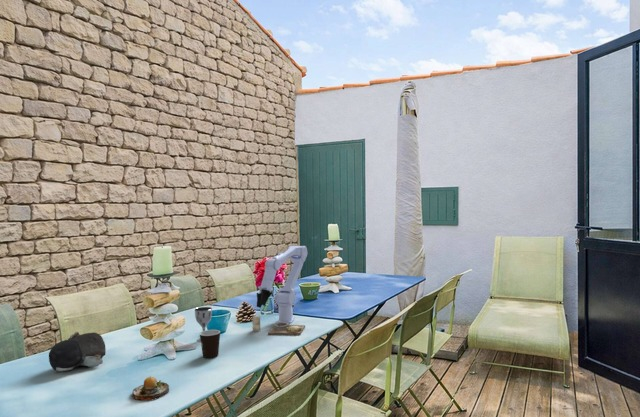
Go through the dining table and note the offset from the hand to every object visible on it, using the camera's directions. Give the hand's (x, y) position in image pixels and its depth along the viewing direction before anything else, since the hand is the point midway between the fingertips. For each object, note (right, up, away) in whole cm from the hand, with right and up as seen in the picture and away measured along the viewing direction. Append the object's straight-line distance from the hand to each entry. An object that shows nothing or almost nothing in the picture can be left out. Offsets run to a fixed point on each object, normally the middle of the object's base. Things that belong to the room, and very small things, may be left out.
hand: (260, 306), depth 221 cm
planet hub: (-2, -13, +3) cm, 14 cm away
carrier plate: (+13, -13, 0) cm, 18 cm away
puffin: (-69, -16, -42) cm, 82 cm away
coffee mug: (-17, -14, -33) cm, 39 cm away
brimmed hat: (-28, -15, -70) cm, 77 cm away
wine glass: (-26, -14, -11) cm, 31 cm away
